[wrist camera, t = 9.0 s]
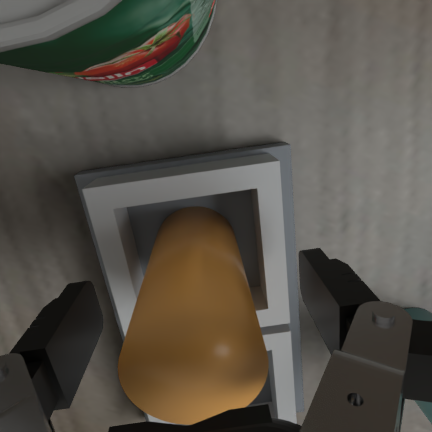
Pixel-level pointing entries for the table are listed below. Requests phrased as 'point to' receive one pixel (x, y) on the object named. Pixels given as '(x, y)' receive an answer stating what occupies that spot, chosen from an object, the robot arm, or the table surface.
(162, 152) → the table surface
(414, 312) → the teal pin
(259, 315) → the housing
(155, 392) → the orange pin
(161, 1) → the canned tomato
